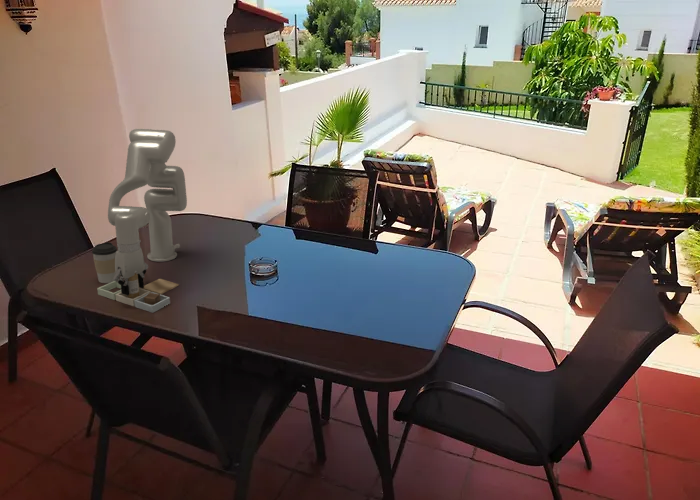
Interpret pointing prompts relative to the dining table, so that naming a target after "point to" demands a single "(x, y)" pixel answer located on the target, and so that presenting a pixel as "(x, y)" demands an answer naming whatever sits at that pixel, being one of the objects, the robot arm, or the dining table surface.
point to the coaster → (160, 286)
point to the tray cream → (129, 301)
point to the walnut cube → (152, 298)
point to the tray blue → (152, 308)
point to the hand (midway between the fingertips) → (132, 290)
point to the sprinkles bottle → (133, 286)
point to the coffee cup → (105, 261)
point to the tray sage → (105, 290)
